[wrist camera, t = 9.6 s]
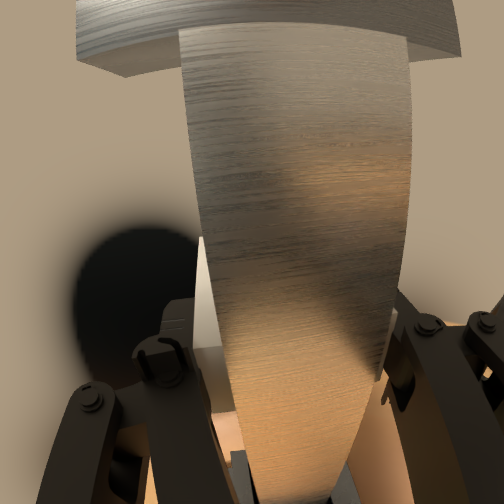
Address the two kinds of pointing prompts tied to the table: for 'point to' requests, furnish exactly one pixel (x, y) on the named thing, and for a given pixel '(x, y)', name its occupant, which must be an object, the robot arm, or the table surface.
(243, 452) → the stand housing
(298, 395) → the column
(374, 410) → the table surface
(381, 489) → the table surface
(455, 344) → the robot arm
